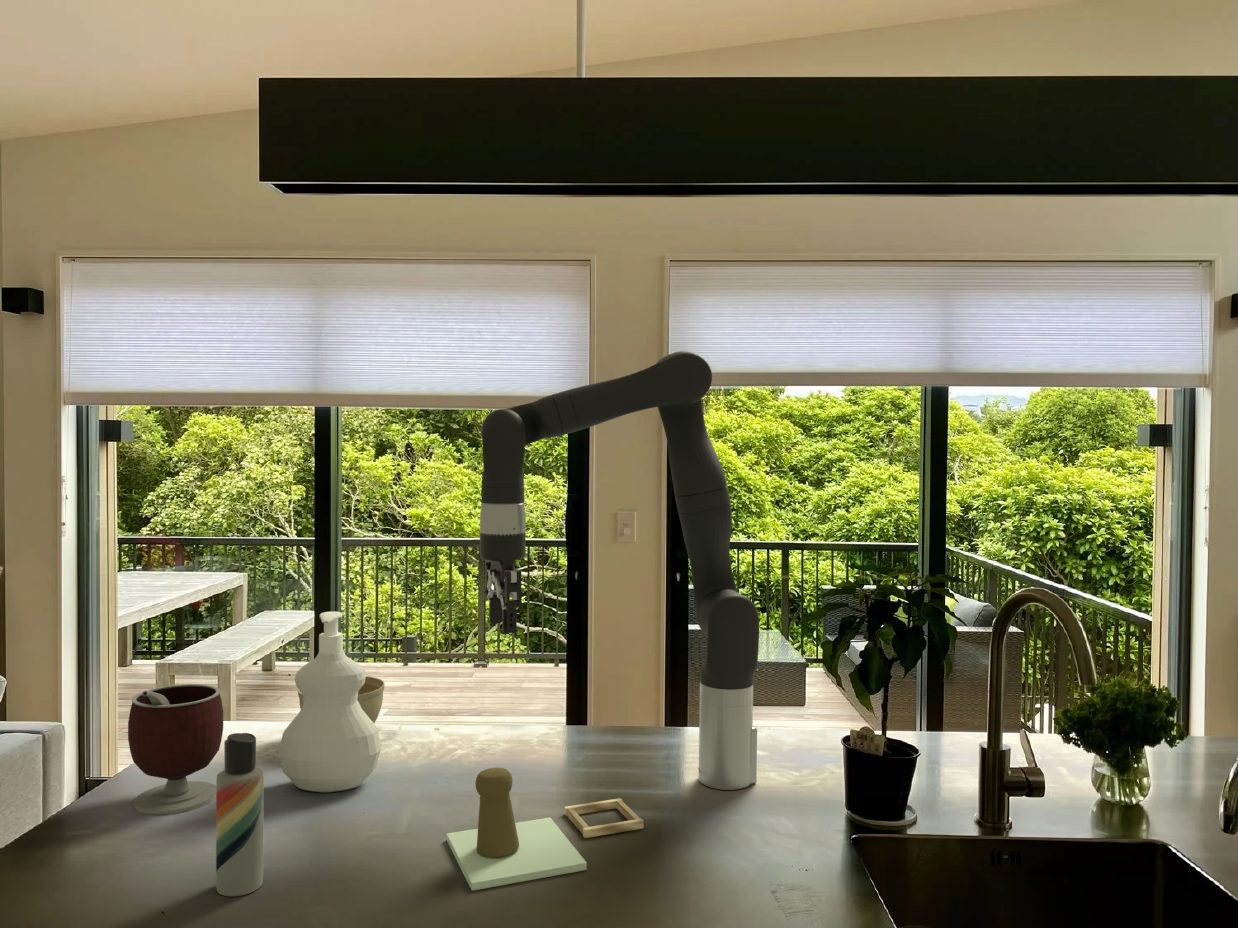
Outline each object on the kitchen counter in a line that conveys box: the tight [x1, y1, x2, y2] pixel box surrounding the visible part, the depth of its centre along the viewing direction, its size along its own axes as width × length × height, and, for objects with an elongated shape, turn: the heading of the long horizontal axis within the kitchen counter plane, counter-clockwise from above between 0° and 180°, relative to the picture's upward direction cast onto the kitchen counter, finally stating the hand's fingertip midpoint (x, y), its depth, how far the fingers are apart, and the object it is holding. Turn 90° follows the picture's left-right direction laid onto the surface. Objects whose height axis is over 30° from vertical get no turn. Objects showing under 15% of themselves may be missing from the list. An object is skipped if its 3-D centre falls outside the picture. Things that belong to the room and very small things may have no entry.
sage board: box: [446, 817, 588, 891], centre depth 128 cm, size 16×16×1 cm
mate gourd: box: [127, 683, 224, 816], centre depth 145 cm, size 16×14×20 cm
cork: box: [475, 767, 519, 857], centre depth 127 cm, size 6×6×11 cm
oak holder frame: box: [563, 798, 645, 839], centre depth 140 cm, size 10×9×1 cm
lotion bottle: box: [215, 732, 265, 897], centre depth 118 cm, size 6×6×20 cm
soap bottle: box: [278, 611, 382, 793], centre depth 153 cm, size 17×12×29 cm
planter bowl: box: [297, 675, 385, 724], centre depth 176 cm, size 16×16×11 cm
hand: (502, 627), depth 149 cm, fingers open, 8 cm apart
